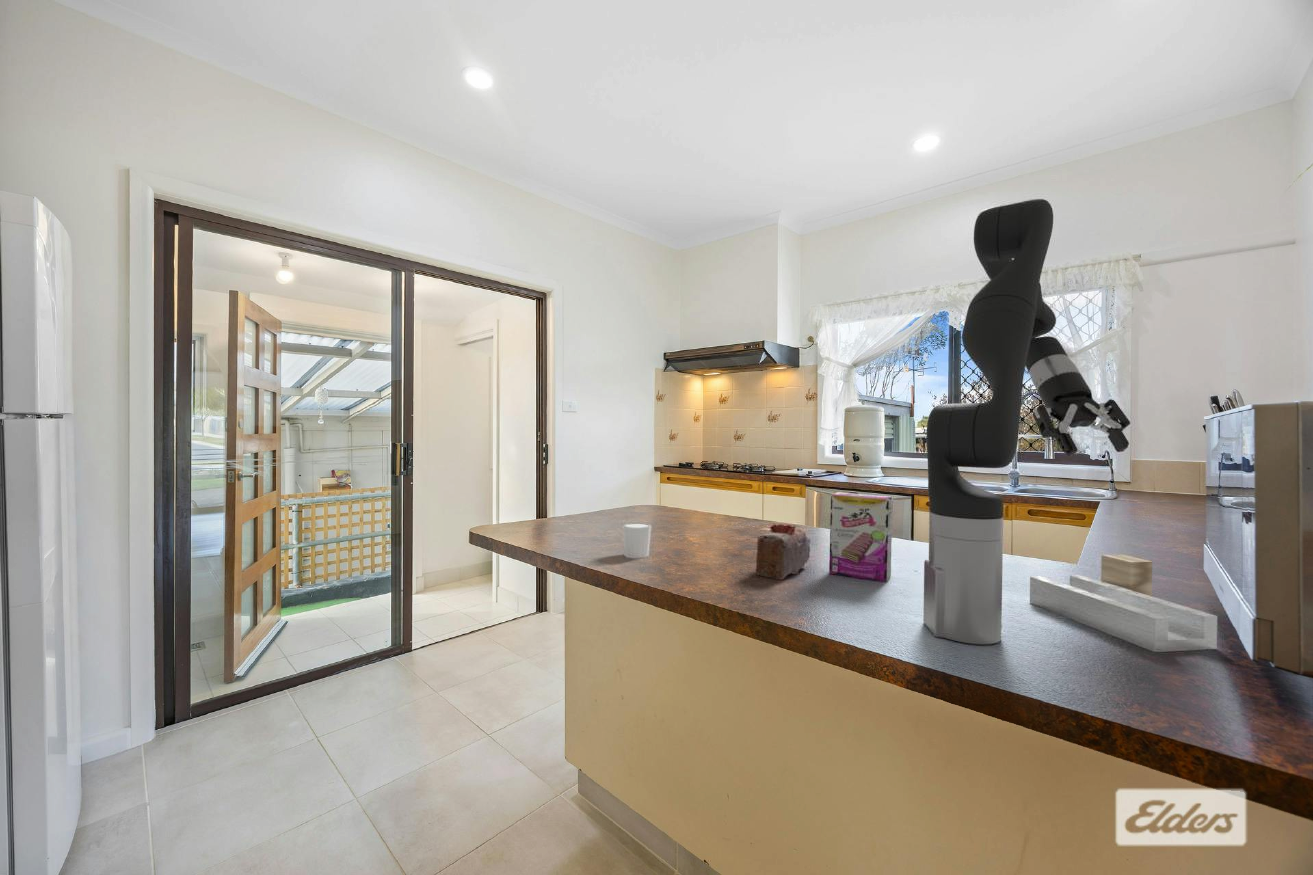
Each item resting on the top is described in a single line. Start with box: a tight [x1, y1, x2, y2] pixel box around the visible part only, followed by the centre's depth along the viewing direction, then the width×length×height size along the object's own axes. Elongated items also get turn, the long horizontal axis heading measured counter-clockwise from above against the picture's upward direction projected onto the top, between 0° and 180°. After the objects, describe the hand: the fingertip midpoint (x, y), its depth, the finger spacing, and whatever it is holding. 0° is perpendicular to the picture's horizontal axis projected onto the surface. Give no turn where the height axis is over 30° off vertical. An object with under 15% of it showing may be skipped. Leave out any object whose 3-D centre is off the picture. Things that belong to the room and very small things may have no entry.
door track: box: [1029, 574, 1218, 653], centre depth 80 cm, size 10×20×4 cm, turn 7°
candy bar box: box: [828, 491, 894, 583], centre depth 105 cm, size 11×5×16 cm, turn 58°
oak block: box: [1100, 554, 1153, 597], centre depth 89 cm, size 4×5×8 cm
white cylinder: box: [621, 522, 652, 559], centre depth 121 cm, size 7×7×7 cm
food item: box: [755, 524, 811, 581], centre depth 109 cm, size 14×8×10 cm, turn 146°
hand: (1098, 451), depth 95 cm, fingers open, 8 cm apart
